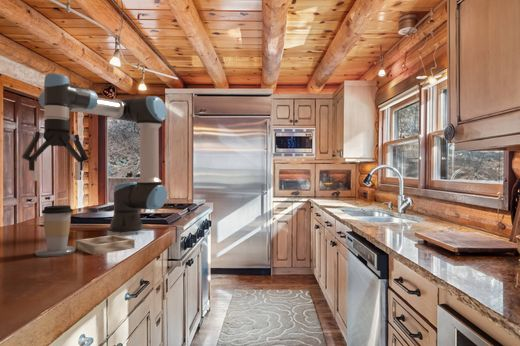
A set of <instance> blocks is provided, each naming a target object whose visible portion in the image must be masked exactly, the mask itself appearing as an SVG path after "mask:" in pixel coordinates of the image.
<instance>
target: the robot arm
mask: <svg viewBox="0 0 520 346" xmlns="http://www.w3.org/2000/svg"><path fill="white" fill-rule="evenodd" d="M38 103H39V105H40V106H41V107H42V108H43V109H44V115H43V116H44V118H45V119H44V122H43V123H44V124H43V125H44V126H43V127H44V129H43V130H44V131H43V132H40V131H34V132H33V135H32V139H31V141H30V142H29V144H28V146H27V148H26V149H25V151H24V152H23V154H22V155H21V158H22V159H24V160H27V161H28V170H29V172H30V171H31V178H32V179H31V180H32V181H34V182H37V181H38V160H36V159H37V158H38V157H39V156H41V154H42V153H43V152H44V151H45V150H46V149H47V148H48V147H64V148H65V150H67V151H68V153H70V155H71V156H72V157H73V158H74V159H75V162H74V181H81V171H83V170H84V167H83V166H84V165H83V163H84V162H85V161H88V160H89V157H88V155H87V153H86V151H85V149H84V147H83V145H82V143H81V141H80V135H79V134H70V121H69V119H70V112H72V113H73V112H74V113H83V114H90V115H98V116H105V117H106V116H107V117H110V118H112V119H113V120H114V119H115V120H120V121H126V122H132V123H136V124H135V125H137V127H138V128H139V179H138V180H137V181H132V182H131V181H129V182H123V183H117V184H115V185H114V188H113V217H112V219H111V222H110V224H109V231H111V232H133V231H134V232H135V231H140V230H143V222H142V218H141V216H140V209H141V210H150V211H151V210H159V209H161V208H162V207H163V206H164V204H166V202H167V197H168V190H167V188H166V186H164V185H163V181H162V180H161V179H160V176H159V175H160V173H159V172H160V170H159V169H160V167H159V165H160V164H159V163H160V162H159V161H160V160H159V158H160V157H159V154H160V153H159V152H160V151H159V146H160V145H159V143H160V142H159V129H160V128H161V127H162V124H163V123H162V122H163V121H164V120H166V118H167V107H166V104H165V102H164V101H163V100H162V98H160V97H159V96H155V95H153V96H151V95H149V96H148V95H147V96H141V97H139V96H138V97H130V98H113V99H108V98H104V97H102V98H101V97H99V96H98V94H97V93H96V91H95V90H93V89H92V90H91V89H90V88H87V87H82V86H78V85H74V84H71V83H70V78H69V77H68V76H66V75H65V74H62V73H61V74H60V73H48V74H46V75H45V76H44V82H43V91H42V92H40V94H39V96H38ZM42 137H43V138H44V140H45V141H43V143H42V144H41V146H39V147H38V148H37V149H36V150H35V147H36V145H37V144H38V142H39V140H41V139H42ZM70 140H71V141H72V142H73V144H74V146H75V148H76V149H77V151H78V152H77V151H76V149H75V148H74V147H73V146H72V144H71V143H70V142H69V141H70ZM34 150H35V151H34ZM33 151H34V153H32V152H33Z"/></svg>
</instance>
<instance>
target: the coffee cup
mask: <svg viewBox="0 0 520 346" xmlns="http://www.w3.org/2000/svg"><path fill="white" fill-rule="evenodd" d="M72 213H73V208H71V205H69V204H68V205H67V204H65V205H64V204H62V205H47V206H44V207H43V209H42V211H41V214H42V215H43V216H42V217H43V229H44V236H45V241H46V248H47V250H48V251H60V250H64V249H67V246H68V241H69V236H70V229H71V215H72Z"/></svg>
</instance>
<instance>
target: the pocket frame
mask: <svg viewBox="0 0 520 346" xmlns="http://www.w3.org/2000/svg"><path fill="white" fill-rule="evenodd" d="M135 241H136V240H135V239H133V238H128V237H125V236H120V235H118V234H117V235H116V234H113V235H105V236H98V237H97V236H96V237H92V238H84V239H76V240H75V248H76V250H79V251H81V252H85V253H87V254H91V255H94V256H95V255H102V254H107V253H113V252H119V251H123V250H131V249H135V245H136V244H135Z"/></svg>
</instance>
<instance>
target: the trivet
mask: <svg viewBox="0 0 520 346" xmlns="http://www.w3.org/2000/svg"><path fill="white" fill-rule="evenodd" d="M76 250H77V249H76V246H71V245H67V249H64V250H60V251H48V250H47V247H44V248H43V247H42V248H38V249H36V250H35V256H37V257H38V258H39V257H40V258H53V257H54V258H55V257H61V256H68V255H71V254H73V253H74V254H75V253H76Z"/></svg>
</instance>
